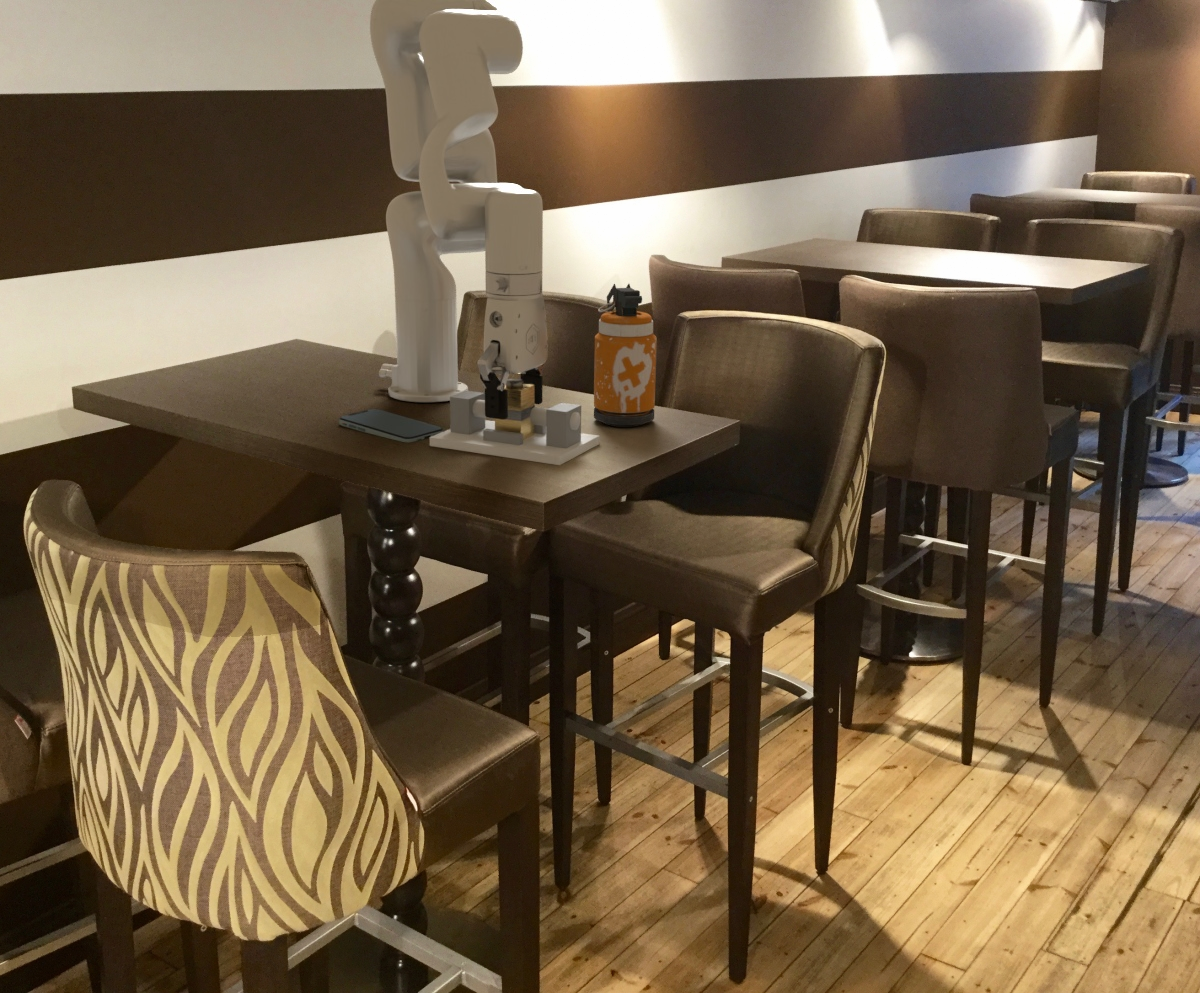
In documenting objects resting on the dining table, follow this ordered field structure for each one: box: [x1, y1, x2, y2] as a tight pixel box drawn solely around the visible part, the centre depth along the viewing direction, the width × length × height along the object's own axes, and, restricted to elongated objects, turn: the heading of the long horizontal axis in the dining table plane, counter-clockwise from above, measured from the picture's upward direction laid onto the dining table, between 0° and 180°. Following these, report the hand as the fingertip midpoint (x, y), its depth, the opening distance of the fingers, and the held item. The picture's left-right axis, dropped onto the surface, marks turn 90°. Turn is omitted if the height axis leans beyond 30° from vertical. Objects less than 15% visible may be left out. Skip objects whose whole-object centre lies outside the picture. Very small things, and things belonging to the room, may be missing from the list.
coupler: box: [494, 378, 536, 440], centre depth 174 cm, size 4×4×8 cm
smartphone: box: [339, 408, 444, 443], centre depth 183 cm, size 8×2×15 cm
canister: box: [593, 283, 658, 428], centre depth 187 cm, size 9×11×20 cm
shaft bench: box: [428, 390, 601, 466], centre depth 175 cm, size 20×12×6 cm, turn 64°
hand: (514, 410), depth 174 cm, fingers open, 9 cm apart
